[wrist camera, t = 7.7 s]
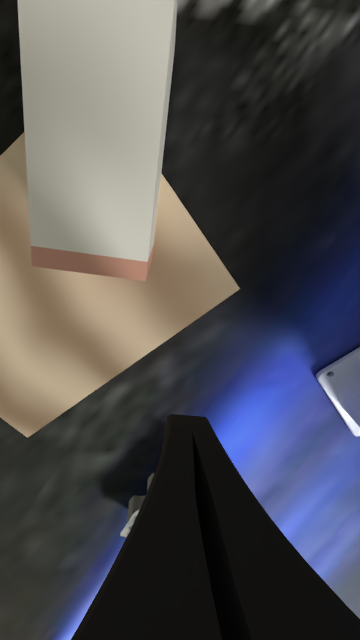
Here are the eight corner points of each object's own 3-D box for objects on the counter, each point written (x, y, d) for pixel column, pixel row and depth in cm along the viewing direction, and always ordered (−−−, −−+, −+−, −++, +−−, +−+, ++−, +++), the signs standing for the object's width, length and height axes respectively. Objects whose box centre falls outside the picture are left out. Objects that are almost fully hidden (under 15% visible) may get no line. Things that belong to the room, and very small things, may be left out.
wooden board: (92, 72, 14) (89, 66, 13) (237, 286, 18) (240, 288, 18) (-139, 302, 17) (-149, 305, 17) (30, 431, 22) (27, 437, 22)
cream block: (152, 257, 17) (174, 49, 13) (145, 281, 11) (181, -69, 8) (77, 247, 16) (78, 28, 13) (32, 266, 11) (11, -114, 7)
